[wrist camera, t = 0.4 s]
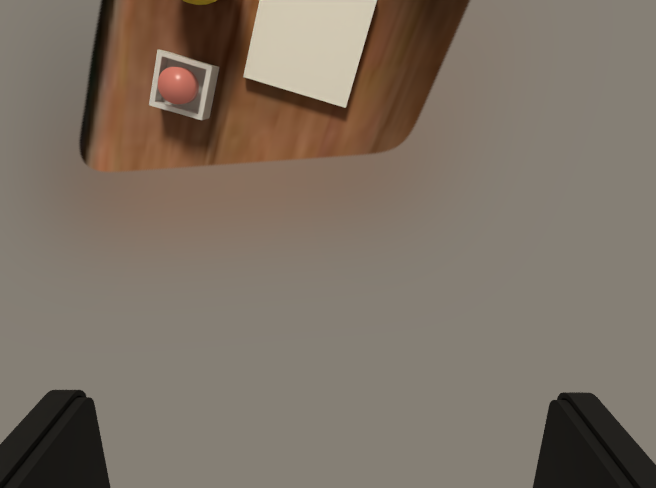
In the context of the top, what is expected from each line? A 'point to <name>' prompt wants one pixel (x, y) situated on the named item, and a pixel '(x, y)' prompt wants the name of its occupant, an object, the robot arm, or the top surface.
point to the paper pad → (309, 46)
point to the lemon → (200, 2)
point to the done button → (178, 85)
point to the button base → (206, 80)
